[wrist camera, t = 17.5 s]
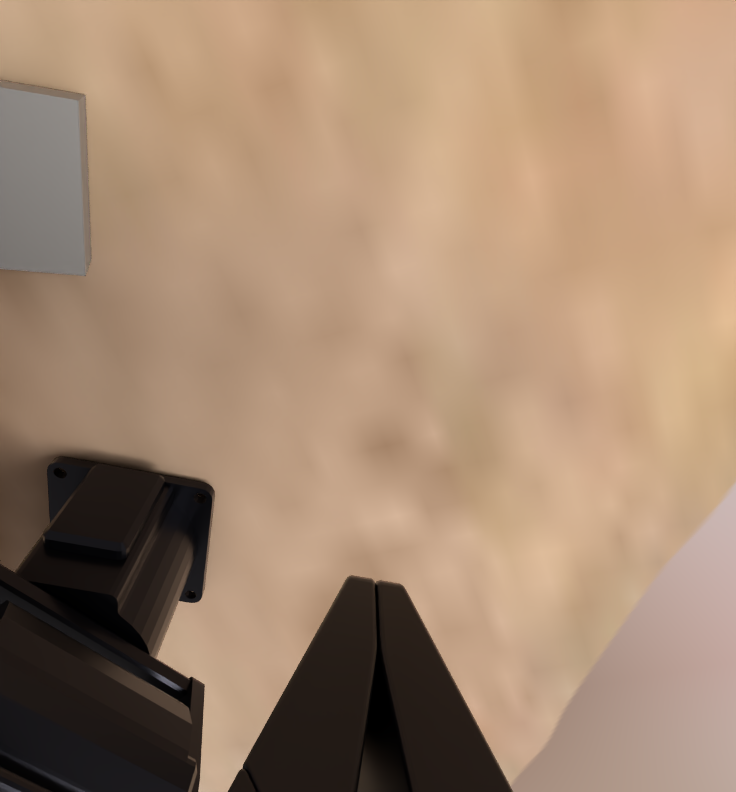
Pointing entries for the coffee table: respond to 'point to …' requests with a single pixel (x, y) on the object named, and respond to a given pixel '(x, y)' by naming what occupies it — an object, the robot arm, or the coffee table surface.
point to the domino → (43, 180)
